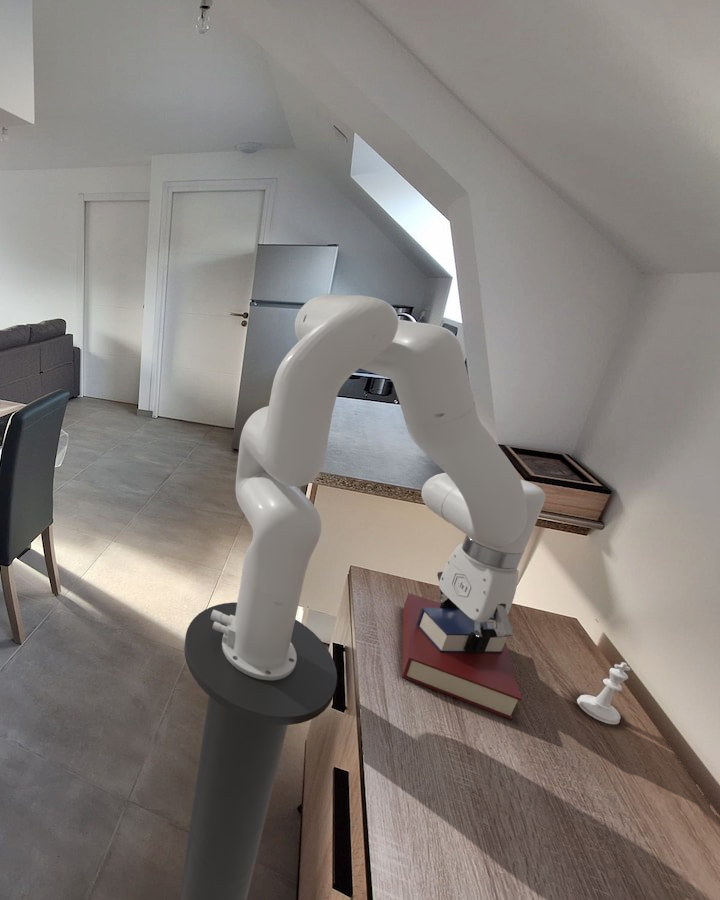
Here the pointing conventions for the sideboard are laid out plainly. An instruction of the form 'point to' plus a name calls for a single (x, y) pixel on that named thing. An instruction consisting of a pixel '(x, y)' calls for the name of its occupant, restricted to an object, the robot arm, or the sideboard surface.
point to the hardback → (457, 667)
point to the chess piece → (605, 697)
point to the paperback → (452, 630)
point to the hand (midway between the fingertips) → (458, 635)
